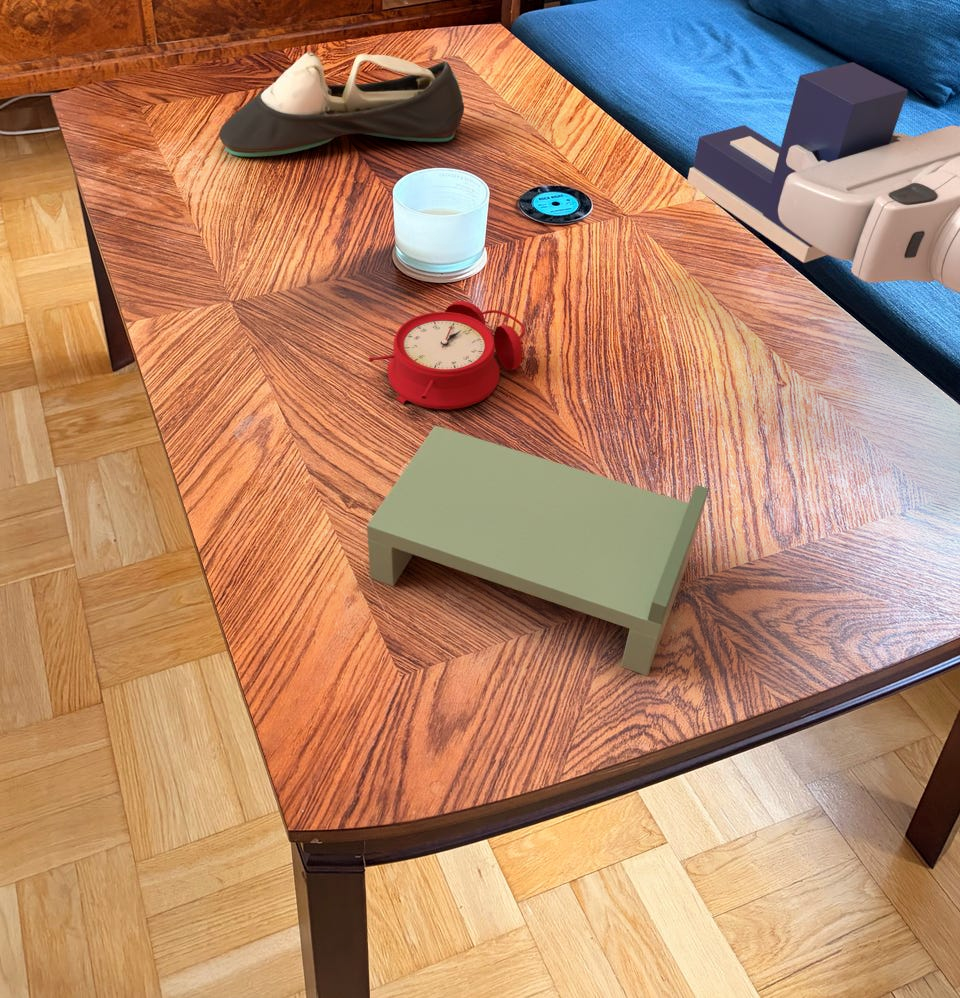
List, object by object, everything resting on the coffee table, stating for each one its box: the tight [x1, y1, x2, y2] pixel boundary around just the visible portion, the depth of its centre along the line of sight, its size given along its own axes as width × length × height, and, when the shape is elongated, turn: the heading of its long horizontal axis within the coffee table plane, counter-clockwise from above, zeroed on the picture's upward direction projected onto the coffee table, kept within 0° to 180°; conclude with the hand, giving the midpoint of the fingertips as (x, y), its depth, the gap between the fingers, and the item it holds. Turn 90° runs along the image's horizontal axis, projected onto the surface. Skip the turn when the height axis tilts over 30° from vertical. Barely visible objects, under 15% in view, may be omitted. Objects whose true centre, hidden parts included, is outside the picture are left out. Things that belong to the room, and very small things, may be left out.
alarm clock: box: [368, 300, 526, 410], centre depth 93 cm, size 10×6×15 cm
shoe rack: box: [366, 425, 710, 677], centre depth 75 cm, size 22×12×8 cm, turn 67°
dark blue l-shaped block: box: [686, 61, 908, 264], centre depth 88 cm, size 16×6×14 cm, turn 31°
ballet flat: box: [218, 51, 465, 158], centre depth 123 cm, size 10×30×10 cm, turn 106°
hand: (825, 143), depth 84 cm, fingers closed on dark blue l-shaped block, 6 cm apart
